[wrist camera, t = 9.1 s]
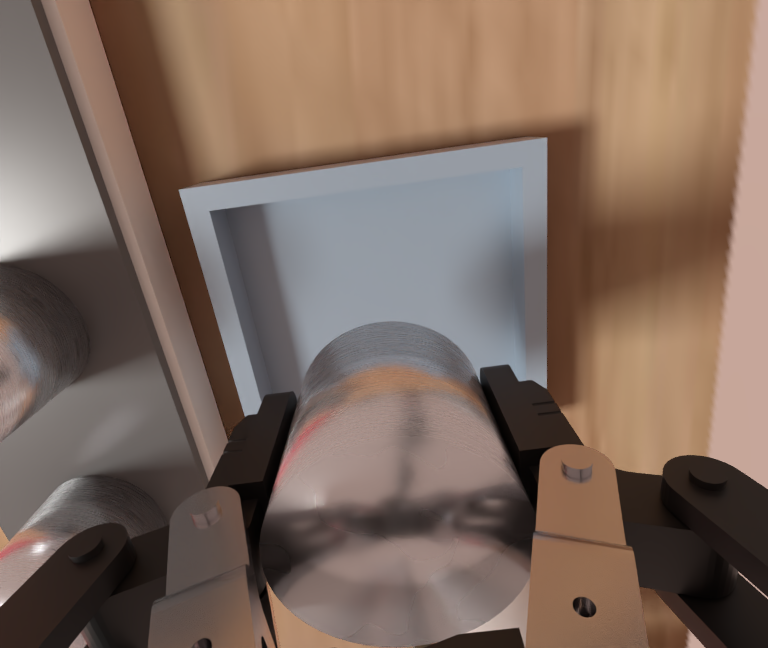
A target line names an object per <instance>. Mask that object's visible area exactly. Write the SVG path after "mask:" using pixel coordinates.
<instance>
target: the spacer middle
mask: <svg viewBox="0 0 768 648" xmlns="http://www.w3.org/2000/svg"><path fill="white" fill-rule="evenodd" d="M89 355H90V338H89V332H88V329H87V326H86V323H85V321H84V319H83V317H82V315H81V313H80V312H79V310H78V309H77V307H76V306H75V305H74V303H73V302H72V301H71V300H70V298H69V297H68V296H67V295H66V294H65V293H64V292H63V291H61V290H60V289H59V288H58V287H57V286H55V285H54V284H53V283H51V282H50V281H48V280H47V279H45V278H43V277H41V276H39V275H37V274H35V273H33V272H30V271H28V270H25V269H22V268H19V267H15V266H9V265H0V443H1V442H2V441H3V440H4V439H6V438H7V437H8V436H9V435H10V434H12V433H13V432H14V431H15V430H16V429H17V428H19V427H20V426H21V425H22V424H23V423H25V422H26V421H27V420H28V419H29V418H31V417H32V416H33V415H34V414H35V413H37V412H38V411H39V410H40V409H41V408H43V407H44V406H45V405H46V404H47V403H49V402H50V401H51V400H52V399H53V398H54V397H56V396H57V395H58V394H59V393H60V392H62V391H63V390H64V389H65V388H66V387H68V386H69V385H70V384H71V383H72V382H74V381H75V380H76V379H77V378H78V377H79V376H80V375H81V373H82V372H83V370H84V369H85V367H86V365H87V362H88V359H89Z"/></svg>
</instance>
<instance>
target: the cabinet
mask: <svg viewBox="0 0 768 648" xmlns="http://www.w3.org/2000/svg"><path fill="white" fill-rule="evenodd" d="M430 645H432V644H426V645H420V646H414V647H413V648H424V647H427V646H430Z"/></svg>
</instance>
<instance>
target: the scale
mask: <svg viewBox="0 0 768 648" xmlns="http://www.w3.org/2000/svg"><path fill="white" fill-rule="evenodd" d="M0 265H9V266H15V267H19V268H22V269H25V270H28V271H30V272H33V273H35V274H37V275H39V276H41V277H43V278H45V279H47V280H48V281H50V282H51V283H53V284H54V285H55V286H57V287H58V288H59V289H60V290H61V291H63V292H64V293H65V294H66V295H67V296H68V297H69V298H70V300H71V301H72V302H73V303H74V305H75V306H76V307H77V309H78V310H79V312H80V313H81V315H82V317H83V319H84V321H85V323H86V326H87V329H88V332H89V338H90V355H89V359H88V362H87V365H86V367H85V369H84V370H83V372H82V373H81V375H80V376H79V377H78V378H77V379H76V380H75V381H74V382H72V383H71V384H70V385H69V386H68V387H66V388H65V389H64V390H63V391H62V392H60V393H59V394H58V395H57V396H56V397H54V398H53V399H52V400H51V401H50V402H49V403H47V404H46V405H45V406H44V407H43V408H41V409H40V410H39V411H38V412H37V413H35V414H34V415H33V416H32V417H31V418H29V419H28V420H27V421H26V422H25V423H23V424H22V425H21V426H20V427H19V428H17V429H16V430H15V431H14V432H13V433H12V434H10V435H9V436H8V437H7V438H6V439H4V440H3V441H2V442H1V443H0V527H1V528H2V530H3V532H4V533H5V535H6V537H7V538H8V540H9V541H10V540H11V539H12V538H13V537H14V535H15V534H16V533H17V532H18V531H19V530H20V529H21V528H22V526H23V525H24V524H25V523H26V522H27V521H28V520H29V519H30V517H31V516H32V515H33V514H34V513H35V512H36V511H37V510H38V509H39V507H40V506H41V505H42V504H43V503H44V502H45V501H46V500H47V498H48V497H49V496H50V495H51V494H52V493H53V492H54V491H55V490H56V489H57V488H58V487H59V486H60V485H62V484H63V483H65V482H67V481H69V480H71V479H74V478H77V477H82V476H91V475H99V476H108V477H113V478H118V479H121V480H124V481H126V482H129V483H131V484H133V485H135V486H137V487H138V488H140V489H142V490H143V491H144V492H146V493H147V494H148V495H149V496H151V497H152V498H153V499H154V501H155V502H156V503H157V504H158V505H159V507H160V508H161V510H162V512H163V514H164V517H165V520H166V525H169V524H170V519H171V517H172V514H173V513H174V511H175V510H176V508H177V507H178V506H179V505H180V504H181V503H182V502H183V501H185V500H186V499H187V498H189V497H190V496H192V495H193V494H195V493H197V492H199V491H202V490H204V489H206V487H207V485H208V483H209V481H210V478H211V476H212V474H213V472H214V470H215V468H216V466H217V464H218V461H219V459H220V457H221V455H222V454H223V451H224V449H225V447H226V444H227V443H228V439H227V436H226V433H225V430H224V427H223V423H222V420H221V417H220V414H219V411H218V408H217V404H216V401H215V398H214V395H213V392H212V389H211V385H210V382H209V379H208V376H207V373H206V370H205V366H204V363H203V360H202V357H201V354H200V351H199V347H198V344H197V341H196V338H195V335H194V332H193V329H192V325H191V322H190V319H189V316H188V313H187V310H186V306H185V303H184V300H183V297H182V294H181V291H180V287H179V284H178V281H177V278H176V275H175V272H174V268H173V265H172V262H171V259H170V256H169V253H168V249H167V246H166V243H165V240H164V237H163V234H162V230H161V227H160V224H159V221H158V218H157V215H156V211H155V208H154V205H153V202H152V199H151V196H150V193H149V189H148V186H147V183H146V180H145V177H144V174H143V170H142V167H141V164H140V161H139V158H138V155H137V151H136V148H135V145H134V142H133V139H132V136H131V132H130V129H129V126H128V123H127V120H126V117H125V113H124V110H123V107H122V104H121V101H120V98H119V94H118V91H117V88H116V85H115V82H114V79H113V76H112V72H111V69H110V66H109V63H108V60H107V57H106V53H105V50H104V47H103V44H102V41H101V38H100V34H99V31H98V28H97V25H96V22H95V19H94V15H93V12H92V9H91V6H90V3H89V0H0Z"/></svg>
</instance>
